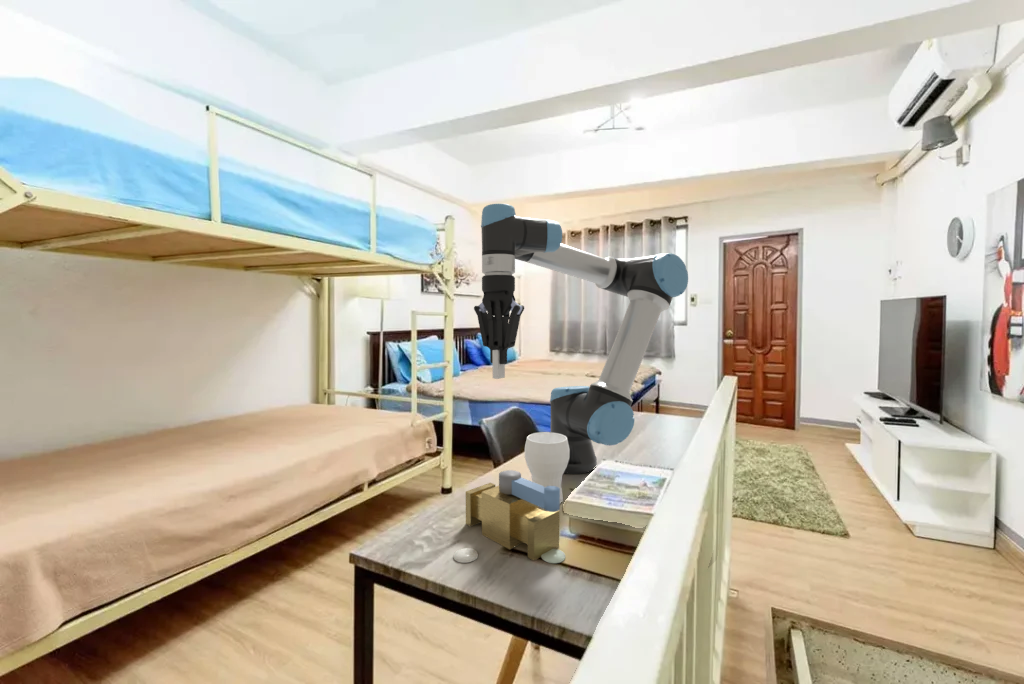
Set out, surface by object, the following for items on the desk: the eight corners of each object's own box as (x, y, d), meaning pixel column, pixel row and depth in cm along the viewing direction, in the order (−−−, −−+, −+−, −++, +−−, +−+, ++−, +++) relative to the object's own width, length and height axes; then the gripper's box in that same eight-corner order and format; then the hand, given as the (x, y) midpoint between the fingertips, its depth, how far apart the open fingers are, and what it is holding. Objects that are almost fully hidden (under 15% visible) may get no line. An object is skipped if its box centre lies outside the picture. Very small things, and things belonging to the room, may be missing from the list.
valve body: (463, 524, 94) (463, 483, 93) (492, 512, 99) (492, 474, 99) (532, 561, 80) (532, 514, 79) (560, 545, 85) (561, 500, 85)
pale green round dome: (551, 547, 85) (551, 546, 85) (570, 556, 82) (570, 555, 82) (536, 556, 82) (536, 554, 82) (554, 566, 78) (554, 564, 78)
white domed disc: (467, 547, 85) (467, 545, 85) (482, 556, 82) (482, 554, 82) (448, 556, 82) (448, 554, 82) (463, 565, 79) (463, 564, 79)
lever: (494, 489, 89) (494, 472, 89) (510, 483, 92) (510, 466, 92) (549, 514, 78) (549, 494, 78) (565, 507, 81) (565, 487, 81)
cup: (567, 511, 100) (567, 445, 99) (520, 507, 102) (520, 442, 101) (570, 492, 111) (571, 432, 110) (528, 489, 113) (528, 430, 112)
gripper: (465, 275, 102) (466, 377, 104) (512, 272, 95) (512, 382, 96) (486, 277, 108) (486, 373, 110) (531, 274, 101) (531, 378, 102)
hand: (498, 377), depth 103 cm, fingers closed
